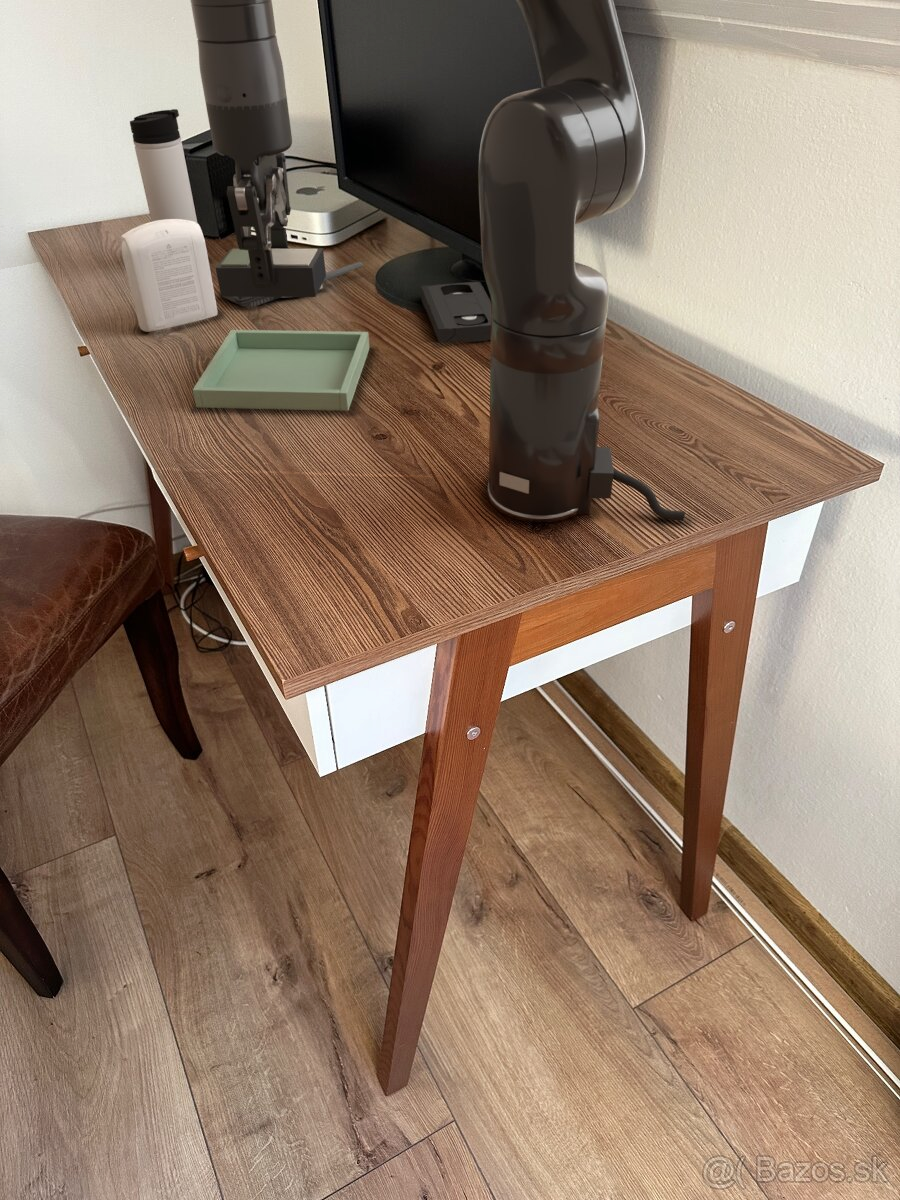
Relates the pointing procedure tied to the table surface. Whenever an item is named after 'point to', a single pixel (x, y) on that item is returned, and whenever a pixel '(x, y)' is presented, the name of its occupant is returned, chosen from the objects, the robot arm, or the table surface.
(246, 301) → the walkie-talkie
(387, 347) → the table surface
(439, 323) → the vhs tape
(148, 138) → the travel mug
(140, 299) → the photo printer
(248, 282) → the black rectangular box
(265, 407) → the tray
